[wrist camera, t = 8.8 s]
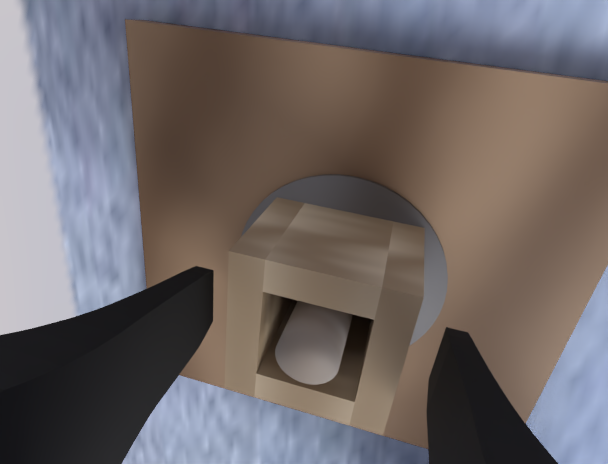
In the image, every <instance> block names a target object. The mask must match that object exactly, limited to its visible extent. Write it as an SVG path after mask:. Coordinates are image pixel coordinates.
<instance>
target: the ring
mask: <svg viewBox="0 0 608 464" xmlns="http://www.w3.org/2000/svg"><path fill="white" fill-rule="evenodd" d="M424 239H425V228H422V227H418V226H413V225H408V224H403V223H398V222H393V221H389V220H384V219H379V218H374V217H369V216H365V215H360V214H355V213H350V212H345V211H341V210H336V209H331V208H326V207H321V206H317V205H312V204H307V203H302V202H297V201H293V200H288V199H283V198H278V197H277V198H276V199H275V200H274V201H273V202H272V203H271V204H270V205H269V207H268V208H267V209H266V210H265V211H264V212H263V213H262V214H261V216H260V217H259V218H258V219H257V220H256V221H255V222H254V223H253V224H252V226H251V227H250V228H249V229H248V230H247V231H246V232H245V233H244V235H243V236H242V237H241V238H240V239H239V240H238V241H237V242H236V244H235V245H234V246H233V247H232V248H231V249H230V250H229V260H228V292H227V324H226V355H225V387H224V388H226V389H229V390H233V391H236V392H239V393H243V394H246V395H249V396H252V397H256V398H259V399H262V400H266V401H269V402H272V403H276V404H279V405H282V406H286V407H289V408H292V409H296V410H299V411H302V412H306V413H309V414H312V415H316V416H319V417H322V418H326V419H329V420H332V421H336V422H339V423H342V424H345V425H349V426H352V427H355V428H359V429H362V430H365V431H369V432H372V433H375V434H379V435H382V436H383V433H384V430H385V426H386V423H387V420H388V416H389V413H390V410H391V406H392V403H393V399H394V396H395V393H396V389H397V386H398V383H399V379H400V376H401V373H402V369H403V366H404V362H405V359H406V356H407V352H408V349H409V346H410V342H411V339H412V336H413V332H414V329H415V325H416V322H417V319H418V315H419V312H420V309H421V305H422V302H423V299H424ZM297 301H302V302H306V303H310V304H313V305H317V306H321V307H325V308H329V309H333V310H337V311H341V312H345V313H349V314H353V316H352V320H351V324H350V328H349V332H348V336H347V340H346V343H345V347H344V351H343V355H342V359H341V363H340V367H339V370H338V373H337V374H336V376H335V377H334V378H333V379H332V380H330V381H328V382H326V383H323V384H317V385H311V384H305V383H302V382H299V381H297V380H295V379H293V378H291V377H290V376H288V375H287V374H286V373H285V372H284V371H283V370H282V369H281V368H280V366H279V364H278V362H277V360H276V356H275V349H276V346H277V343H278V341H279V339H280V337H281V335H282V333H283V331H284V328H285V326H286V324H287V322H288V320H289V318H290V316H291V314H292V312H293V310H294V307H295V305H296V303H297Z"/></svg>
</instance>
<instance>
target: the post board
mask: <svg viewBox="0 0 608 464" xmlns="http://www.w3.org/2000/svg"><path fill="white" fill-rule="evenodd" d="M125 25H126V38H127V50H128V63H129V75H130V87H131V100H132V112H133V125H134V137H135V149H136V162H137V174H138V187H139V199H140V211H141V224H142V236H143V249H144V261H145V273H146V286H147V288H149V287H152V286H154V285H156V284H158V283H160V282H162V281H164V280H166V279H168V278H171V277H173V276H175V275H177V274H179V273H181V272H183V271H185V270H187V269H190V268H192V267H195V266H199V267H203V268H207V269H211V270H214V282H213V322H212V324H211V326H210V328H209V330H208V332H207V334H206V336H205V338H204V339H203V341H202V343H201V345H200V346H199V348H198V349H197V351H196V352H195V354H194V355H193V356H192V358H191V359H190V361H189V362H188V363H187V365H186V366H185V367H184V369H183V370H182V371H181V373H180V374H179V375H181V376H185V377H188V378H191V379H195V380H198V381H201V382H205V383H208V384H211V385H215V386H218V387H221V388H224V387H225V355H226V324H227V292H228V260H229V250H230V249H231V248H232V247H233V246H234V245H235V244H236V242H237V241H238V240H239V239H240V238H241V237H242V236H243V235H244V233H245V232H246V231H247V230H248V229H249V228H250V227H251V226H252V224H253V223H254V222H255V221H256V220H257V219H258V218H259V217H260V216H261V214H262V213H263V212H264V211H265V210H266V209H267V208H268V207H269V205H270V204H271V203H272V202H273V201H274V200H275V199H276V198H277V197H278V198H283V199H288V200H293V201H297V202H302V203H307V204H312V205H317V206H321V207H326V208H331V209H336V210H341V211H345V212H350V213H355V214H360V215H365V216H369V217H374V218H379V219H384V220H389V221H393V222H398V223H403V224H408V225H413V226H418V227H422V228H425V239H424V299H423V302H422V305H421V309H420V312H419V315H418V319H417V322H416V325H415V329H414V332H413V336H412V339H411V342H410V346H409V349H408V352H407V356H406V359H405V362H404V366H403V369H402V373H401V376H400V379H399V383H398V386H397V389H396V393H395V396H394V399H393V403H392V406H391V410H390V413H389V416H388V420H387V423H386V426H385V430H384V433H383V436H386V437H389V438H392V439H396V440H399V441H403V442H406V443H409V444H413V445H416V446H419V447H423V448H426V449H428V432H427V412H426V411H427V395H428V381H429V376H430V374H431V371H432V368H433V365H434V362H435V359H436V356H437V353H438V350H439V347H440V344H441V341H442V338H443V335H444V332H445V329H446V327H448V328H452V329H456V330H461V331H465V332H468V333H469V334H470V336H471V338H472V339H473V341H474V343H475V345H476V347H477V348H478V350H479V352H480V354H481V356H482V357H483V359H484V361H485V363H486V364H487V366H488V368H489V369H490V371H491V373H492V374H493V376H494V378H495V379H496V381H497V383H498V384H499V386H500V387H501V389H502V390H503V392H504V394H505V395H506V397H507V398H508V400H509V401H510V403H511V404H512V406H513V407H514V409H515V410H516V411H517V413H518V414H519V416H520V417H521V418H522V420H523V421H524V423H526V421H527V420H528V418H529V416H530V414H531V412H532V410H533V408H534V406H535V404H536V402H537V400H538V398H539V396H540V394H541V392H542V391H543V389H544V387H545V385H546V383H547V381H548V379H549V377H550V375H551V373H552V371H553V369H554V367H555V365H556V363H557V361H558V360H559V358H560V356H561V354H562V352H563V350H564V348H565V346H566V344H567V342H568V340H569V338H570V336H571V334H572V332H573V331H574V329H575V327H576V325H577V323H578V321H579V319H580V317H581V315H582V313H583V311H584V309H585V307H586V305H587V303H588V302H589V300H590V298H591V296H592V294H593V292H594V290H595V288H596V286H597V284H598V282H599V280H600V278H601V276H602V274H603V272H604V271H605V269H606V267H607V265H608V81H602V80H595V79H587V78H579V77H572V76H564V75H557V74H549V73H541V72H534V71H526V70H519V69H511V68H503V67H496V66H488V65H481V64H473V63H466V62H458V61H450V60H443V59H435V58H428V57H420V56H412V55H405V54H397V53H390V52H382V51H374V50H367V49H359V48H352V47H344V46H337V45H329V44H321V43H314V42H306V41H299V40H291V39H283V38H276V37H268V36H261V35H253V34H245V33H238V32H230V31H223V30H215V29H208V28H200V27H192V26H185V25H177V24H170V23H162V22H154V21H147V20H126V19H125ZM352 316H353V314H349V313H345V312H341V311H337V310H333V309H329V308H325V307H321V306H317V305H313V304H310V303H306V302H302V301H297V303H296V305H295V307H294V310H293V312H292V314H291V316H290V318H289V320H288V322H287V324H286V326H285V328H284V331H283V333H282V335H281V337H280V339H279V341H278V343H277V346H276V349H275V356H276V360H277V362H278V364H279V366H280V368H281V369H282V370H283V371H284V372H285V373H286V374H287V375H288V376H290V377H291V378H293V379H295V380H297V381H299V382H302V383H305V384H311V385H317V384H323V383H326V382H328V381H330V380H332V379H333V378H334V377H335V376H336V374H337V373H338V370H339V367H340V363H341V359H342V355H343V351H344V347H345V343H346V340H347V336H348V332H349V328H350V324H351V320H352ZM225 389H226V388H225ZM228 390H229V389H228ZM231 391H233V390H231ZM235 392H236V391H235ZM238 393H239V392H238ZM242 394H243V393H242ZM245 395H246V394H245ZM248 396H249V395H248ZM255 398H256V397H255ZM258 399H259V398H258ZM265 401H266V400H265ZM268 402H269V401H268ZM275 404H276V403H275ZM278 405H279V404H278ZM285 407H286V406H285ZM288 408H289V407H288ZM295 410H296V409H295ZM305 413H306V412H305ZM315 416H316V415H315ZM325 419H326V418H325ZM335 422H336V421H335Z"/></svg>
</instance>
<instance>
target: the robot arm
mask: <svg viewBox="0 0 608 464" xmlns="http://www.w3.org/2000/svg"><path fill="white" fill-rule="evenodd" d="M213 282H214V270H211V269H207V268H203V267H199V266H195V267H192V268H190V269H187V270H185V271H183V272H181V273H179V274H177V275H175V276H173V277H171V278H168V279H166V280H164V281H162V282H160V283H158V284H156V285H154V286H152V287H149V288H147V289H145V290H143V291H141V292H139V293H136V294H134V295H132V296H129V297H127V298H124V299H122V300H120V301H117V302H115V303H113V304H110V305H108V306H105V307H102V308H100V309H97V310H94V311H91V312H88V313H85V314H82V315H79V316H76V317H73V318H70V319H66V320H63V321H59V322H56V323H51V324H48V325H44V326H40V327H36V328H32V329H28V330H24V331H19V332H14V333H9V334H4V335H0V464H122V462H123V460H124V458H125V457H126V455H127V453H128V451H129V449H130V448H131V446H132V444H133V442H134V441H135V439H136V437H137V436H138V434H139V432H140V431H141V429H142V427H143V426H144V424H145V422H146V421H147V419H148V417H149V416H150V414H151V413H152V411H153V410H154V408H155V407H156V405H157V404H158V402H159V401H160V400H161V398H162V397H163V396H164V394H165V393H166V392H167V390H168V389H169V388H170V386H171V385H172V384H173V382H174V381H175V380H176V378H177V377H178V375H179V374H180V373H181V371H182V370H183V369H184V367H185V366H186V365H187V363H188V362H189V361H190V359H191V358H192V356H193V355H194V354H195V352H196V351H197V349H198V348H199V346H200V345H201V343H202V341H203V339H204V338H205V336H206V334H207V332H208V330H209V328H210V326H211V324H212V322H213ZM426 412H427V432H428V450H429V464H558V463H557V462H556V461H555V460H554V458H553V457H552V456H551V455H550V454H549V453H548V451H547V450H546V449H545V448H544V446H543V445H542V444H541V443H540V442H539V440H538V439H537V438H536V437H535V436H534V434H533V433H532V432H531V430H530V429H529V428H528V427H527V425H526V424H525V423H524V421H523V420H522V418H521V417H520V416H519V414H518V413H517V411H516V410H515V409H514V407H513V406H512V404H511V403H510V401H509V400H508V398H507V397H506V395H505V394H504V392H503V390H502V389H501V387H500V386H499V384H498V383H497V381H496V379H495V378H494V376H493V374H492V373H491V371H490V369H489V368H488V366H487V364H486V363H485V361H484V359H483V357H482V356H481V354H480V352H479V350H478V348H477V347H476V345H475V343H474V341H473V339H472V338H471V336H470V334H469V333H468V332H465V331H461V330H456V329H452V328H448V327H446V329H445V332H444V335H443V338H442V341H441V344H440V347H439V350H438V353H437V356H436V359H435V362H434V365H433V368H432V371H431V374H430V376H429V381H428V395H427V411H426Z"/></svg>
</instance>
